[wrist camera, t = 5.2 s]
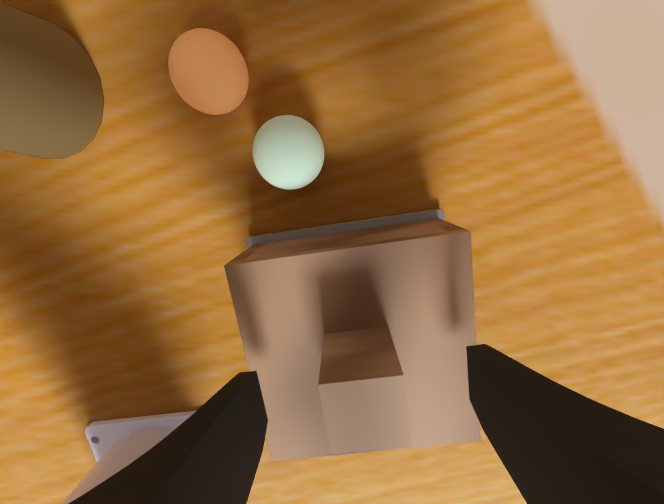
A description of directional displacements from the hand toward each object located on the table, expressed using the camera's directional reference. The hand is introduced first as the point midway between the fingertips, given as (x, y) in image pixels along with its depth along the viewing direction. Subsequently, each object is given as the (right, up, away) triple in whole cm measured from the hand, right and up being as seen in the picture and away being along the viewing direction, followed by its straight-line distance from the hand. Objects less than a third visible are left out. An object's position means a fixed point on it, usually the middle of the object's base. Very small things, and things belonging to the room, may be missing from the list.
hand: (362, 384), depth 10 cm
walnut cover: (0, +1, +5) cm, 5 cm away
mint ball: (-3, +9, +4) cm, 10 cm away
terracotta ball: (-6, +12, +3) cm, 14 cm away
